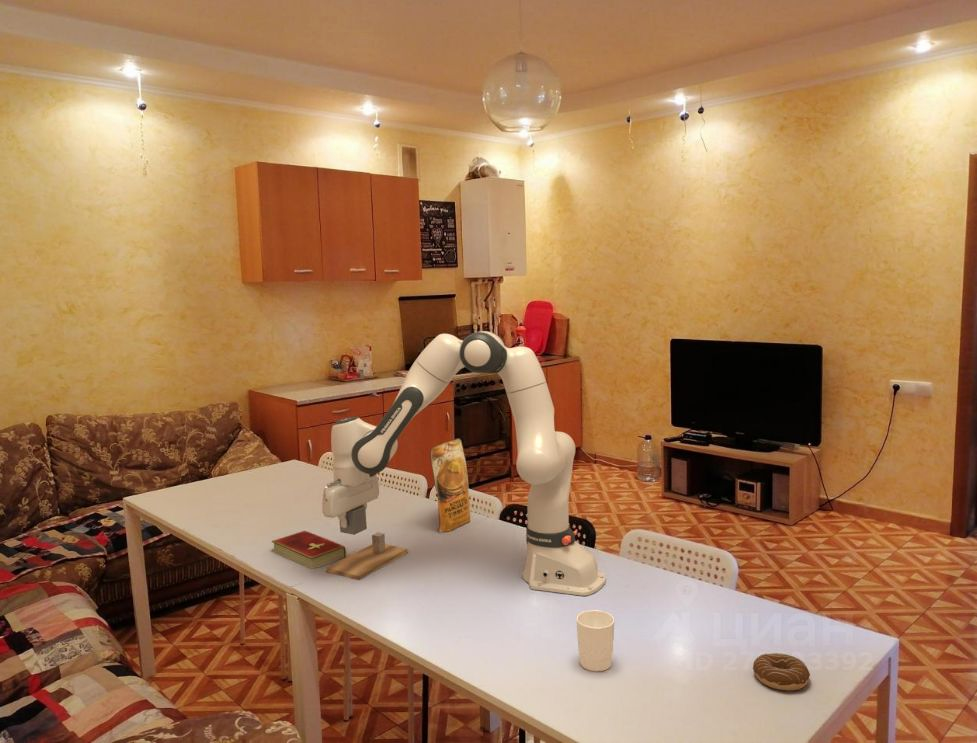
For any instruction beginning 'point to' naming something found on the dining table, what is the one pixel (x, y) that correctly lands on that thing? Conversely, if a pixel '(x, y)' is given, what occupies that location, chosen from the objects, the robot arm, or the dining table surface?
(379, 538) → the post
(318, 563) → the hardcover book
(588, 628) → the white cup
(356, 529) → the gray rectangular block
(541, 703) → the dining table surface
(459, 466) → the pancake mix bag
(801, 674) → the donut
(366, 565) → the board
